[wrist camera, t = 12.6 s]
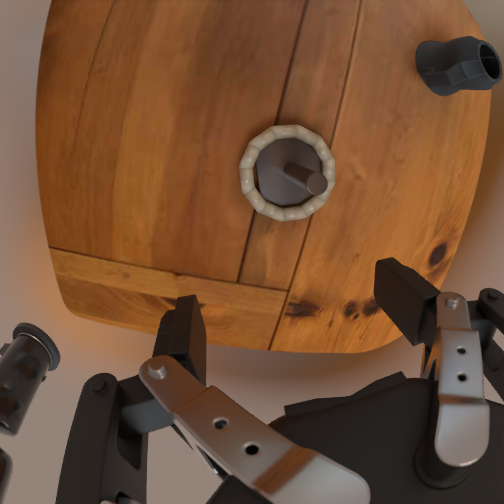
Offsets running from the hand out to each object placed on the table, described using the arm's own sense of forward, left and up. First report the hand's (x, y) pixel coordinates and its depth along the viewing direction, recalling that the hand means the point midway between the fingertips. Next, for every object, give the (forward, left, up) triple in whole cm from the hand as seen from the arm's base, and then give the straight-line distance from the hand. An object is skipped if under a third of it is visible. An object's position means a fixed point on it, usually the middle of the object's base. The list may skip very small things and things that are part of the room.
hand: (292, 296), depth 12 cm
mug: (+30, +16, -23) cm, 41 cm away
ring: (+5, +2, -21) cm, 22 cm away
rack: (+6, +2, -23) cm, 24 cm away
